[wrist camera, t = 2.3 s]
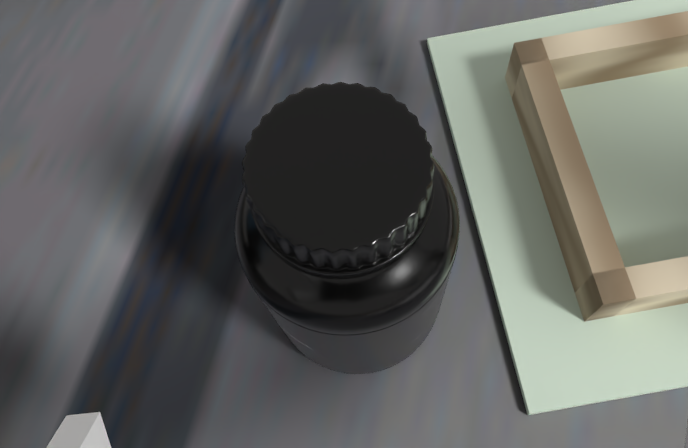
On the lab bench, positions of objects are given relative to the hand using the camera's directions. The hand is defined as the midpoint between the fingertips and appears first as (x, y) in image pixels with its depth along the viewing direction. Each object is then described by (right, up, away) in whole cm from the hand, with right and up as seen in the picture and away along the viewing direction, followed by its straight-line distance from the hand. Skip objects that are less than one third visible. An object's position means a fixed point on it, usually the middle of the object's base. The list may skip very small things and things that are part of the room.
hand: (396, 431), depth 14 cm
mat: (+13, +7, +13) cm, 20 cm away
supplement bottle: (0, +1, +12) cm, 13 cm away
